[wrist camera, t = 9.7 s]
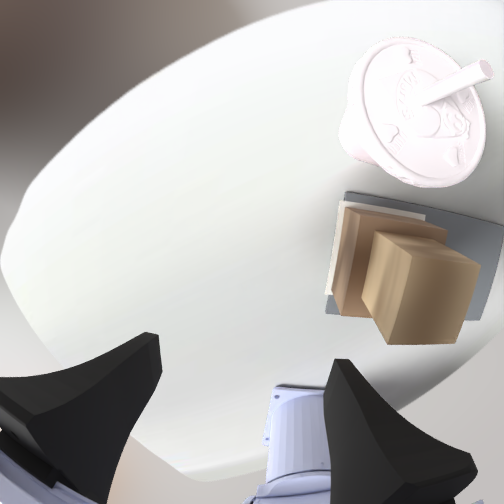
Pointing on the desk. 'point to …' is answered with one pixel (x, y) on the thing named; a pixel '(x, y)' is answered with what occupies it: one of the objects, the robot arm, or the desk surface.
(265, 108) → the desk surface
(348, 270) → the walnut block
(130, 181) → the desk surface
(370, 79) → the smoothie
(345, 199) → the slate mat
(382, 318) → the oak block
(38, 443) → the robot arm
